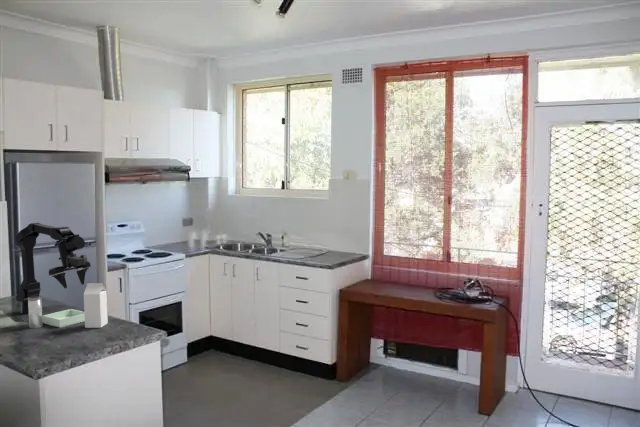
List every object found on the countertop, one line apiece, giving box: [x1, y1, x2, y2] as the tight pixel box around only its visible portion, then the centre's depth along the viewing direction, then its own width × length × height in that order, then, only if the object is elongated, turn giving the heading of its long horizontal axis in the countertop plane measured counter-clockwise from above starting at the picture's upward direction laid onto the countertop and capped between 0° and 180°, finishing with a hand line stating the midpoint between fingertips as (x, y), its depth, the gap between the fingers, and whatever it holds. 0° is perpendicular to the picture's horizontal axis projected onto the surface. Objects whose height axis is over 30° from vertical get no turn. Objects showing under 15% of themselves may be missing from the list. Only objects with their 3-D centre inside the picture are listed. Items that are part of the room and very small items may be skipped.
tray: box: [42, 308, 85, 329], centre depth 245 cm, size 14×14×4 cm
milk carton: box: [83, 282, 109, 329], centre depth 237 cm, size 7×7×19 cm
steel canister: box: [28, 295, 44, 329], centre depth 237 cm, size 5×5×13 cm
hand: (74, 286), depth 247 cm, fingers open, 9 cm apart
